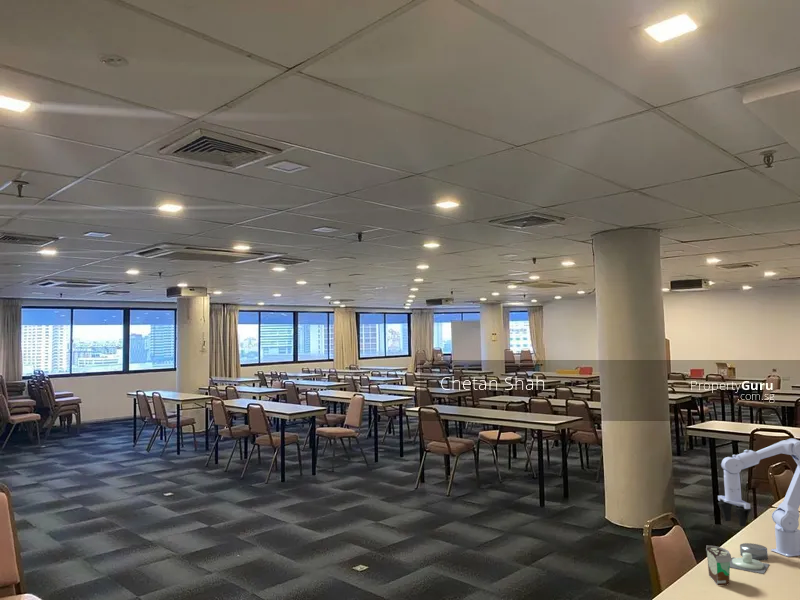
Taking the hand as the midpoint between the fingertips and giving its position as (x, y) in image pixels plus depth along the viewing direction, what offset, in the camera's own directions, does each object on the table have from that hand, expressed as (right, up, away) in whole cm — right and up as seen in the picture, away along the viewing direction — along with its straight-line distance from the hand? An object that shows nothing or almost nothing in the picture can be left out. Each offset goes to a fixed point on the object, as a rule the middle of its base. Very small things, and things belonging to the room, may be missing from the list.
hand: (735, 523), depth 235 cm
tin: (+3, -10, -8) cm, 13 cm away
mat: (-6, -9, -18) cm, 21 cm away
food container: (-22, -8, -32) cm, 40 cm away
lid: (-6, -9, -18) cm, 21 cm away
